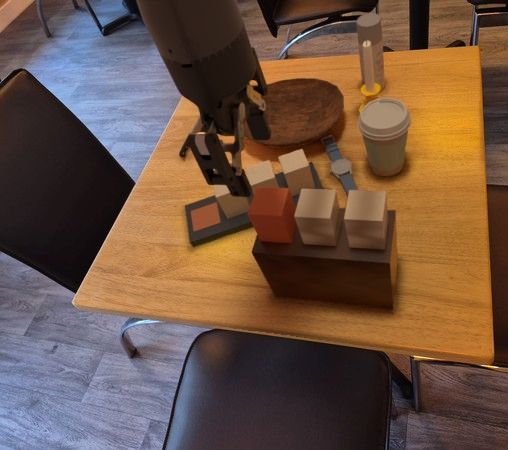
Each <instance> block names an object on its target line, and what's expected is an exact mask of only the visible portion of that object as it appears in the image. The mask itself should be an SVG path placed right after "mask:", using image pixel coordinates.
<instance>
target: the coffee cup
mask: <svg viewBox="0 0 508 450" xmlns="http://www.w3.org/2000/svg"><path fill="white" fill-rule="evenodd" d="M411 125H412V116H411V113H410V111H409V109H408V107H407V105H406V104H405V103H404V102H403V101H402V100H400V99H397V98H393V97H380V98H379V99H376V100H373V101H371V102H369V103H368V104H366V105H365V106H364V107H363V109H362V110H361V113H359V116H358V119H357V128H358V130H359V132H360V134H361V136H362V137H361V138H362V140H363V144H364V148H365V152H366V155H367V158H368V162H369V166H370V169H371V171H372V172H373V173H374V174H375V175H377V176H379V177H391V176H394V175H396V174H398V173H400V172H401V170H402V169H403V166H404V161H405V157H406V156H405V155H406V150H407V149H406V148H407V141H408V136H409V135H408V134H409V128H410V127H411Z"/></svg>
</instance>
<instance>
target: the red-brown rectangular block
mask: <svg viewBox="0 0 508 450" xmlns="http://www.w3.org/2000/svg"><path fill="white" fill-rule="evenodd" d="M295 212H296V208H295V205H294V202H293V199H292V196H291V193H290V190H289V188H266V187H257V188H256V191H255V194H254V197H253V200H252V203H251V206H250V209H249V211H248V216H249V218H250V220H251V222H252V225H253V227H252V228H253V229H254V231H255V233H256V236H257V235H258V237H259V239H260V241H265V242H280V243H292V240H293V236H294V232H295V228H296V225H297V223H296V220H295V217H294V216H295Z"/></svg>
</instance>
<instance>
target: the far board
mask: <svg viewBox="0 0 508 450" xmlns="http://www.w3.org/2000/svg"><path fill="white" fill-rule="evenodd" d="M277 158H278V161H279V164H280V166H281V169H282V171H280V172H278V173H275V172H274V168H273V166H272V163H271V161H270V159H267V160H265V161H262V162H259V163H256V164H254V165H250V166H248V167H245V168H244V171H245V174H246V176H247V178H248V181H249V183H250V185H251V187H252V193H251V196H250V197H233V196H232V195H231V194H230V191H229V190H228V188H227V186H226V185H212V186H213V190H214V195H211V196H207V197H205V198H203V199H199V200H197V201H194V202H191V203H187V204H184V210H185V217H186V225H187V231H188V232H187V233H188V239H189V243H190V245H191V247H192V248H195V247H198V246H201V245H204V244H206V243H209V242H210V243H211V242H212V241H215V240H218V239H221V238H224V237H226V236H230V235H232V234H236V233H238V232H239V233H240V232H241V231H244V230H247V229H249V228H254V227H253V225H252V222H251V220H250V218H249V216H248V211H249V209H250V206H251V203H252V200H253V197H254V194H255V191H256V188H257V187H266V188H289V190H290V193H291V196H292V199H293V202H294V205H295V206H297V204H298V201H299V197H300V193H301V189H324V186H323V184H322V183H321V180H320V177H319V175H318V173H317V170H316V168H315V165H314V164H313V161H310V162H309V161H308V159H307V157H306V154H305V151H304V149H303V148H300V149H297V150H293V151H291V152H288V153H285V154H282V155H279V156H278V157H277Z"/></svg>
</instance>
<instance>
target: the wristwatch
mask: <svg viewBox="0 0 508 450" xmlns="http://www.w3.org/2000/svg"><path fill="white" fill-rule="evenodd" d="M323 140H324V141H323ZM320 141H321V143H322V144H323V146H324V149H325V151H326V154H327V155H328V157H329V159H330V168H329V169H330V170H329V174H331V175H333V176H334V177H335V178H336V179H337V180H340V182H341V184H342V186H343V189H344V191H345V193H346V195H347V196H348V194H349V190H359V189H358V186H357V185H356V182H355V180H354V178H353V164H352V162H351V161H350V160H348V159H346V158H345V156H344V157H343V155H342V153H341V151H340V147H339V146H338V144H337V143H336V141H335V138H334V136H333V134H328V135H327V134H325V135H323V136H322V137H321V138H320Z"/></svg>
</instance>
